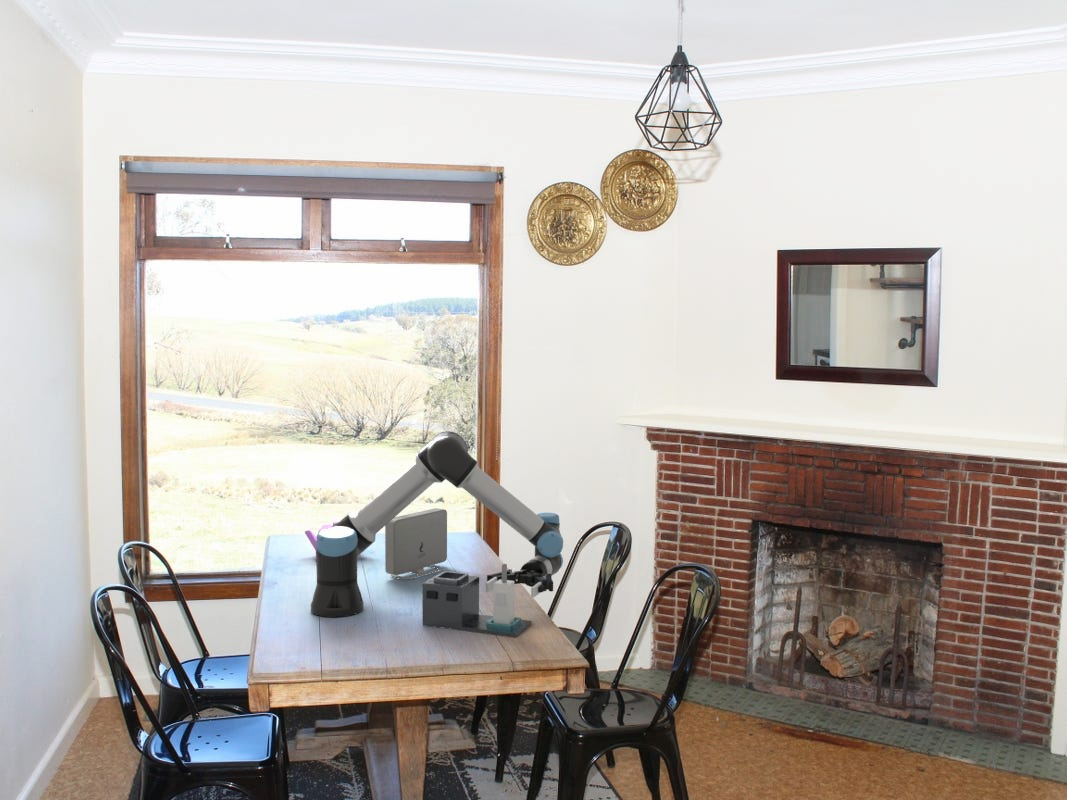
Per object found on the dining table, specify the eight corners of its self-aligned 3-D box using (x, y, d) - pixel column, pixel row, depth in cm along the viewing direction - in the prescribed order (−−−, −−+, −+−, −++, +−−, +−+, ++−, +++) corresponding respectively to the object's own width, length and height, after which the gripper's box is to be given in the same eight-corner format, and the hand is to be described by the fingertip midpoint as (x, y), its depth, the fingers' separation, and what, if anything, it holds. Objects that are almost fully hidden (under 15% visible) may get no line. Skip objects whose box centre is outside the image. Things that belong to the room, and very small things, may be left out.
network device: (398, 583, 319) (398, 521, 318) (379, 578, 325) (379, 518, 323) (451, 567, 340) (452, 509, 338) (433, 563, 345) (433, 506, 343)
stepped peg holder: (515, 638, 267) (516, 589, 266) (421, 625, 276) (421, 579, 275) (531, 624, 279) (532, 578, 278) (440, 613, 288) (440, 568, 287)
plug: (507, 628, 271) (507, 567, 270) (492, 626, 273) (492, 566, 271) (514, 623, 276) (514, 563, 275) (499, 621, 278) (499, 561, 276)
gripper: (575, 588, 293) (551, 608, 273) (497, 579, 301) (468, 598, 281) (575, 563, 292) (551, 581, 272) (497, 555, 301) (468, 572, 281)
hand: (509, 590), depth 277 cm, fingers open, 13 cm apart
